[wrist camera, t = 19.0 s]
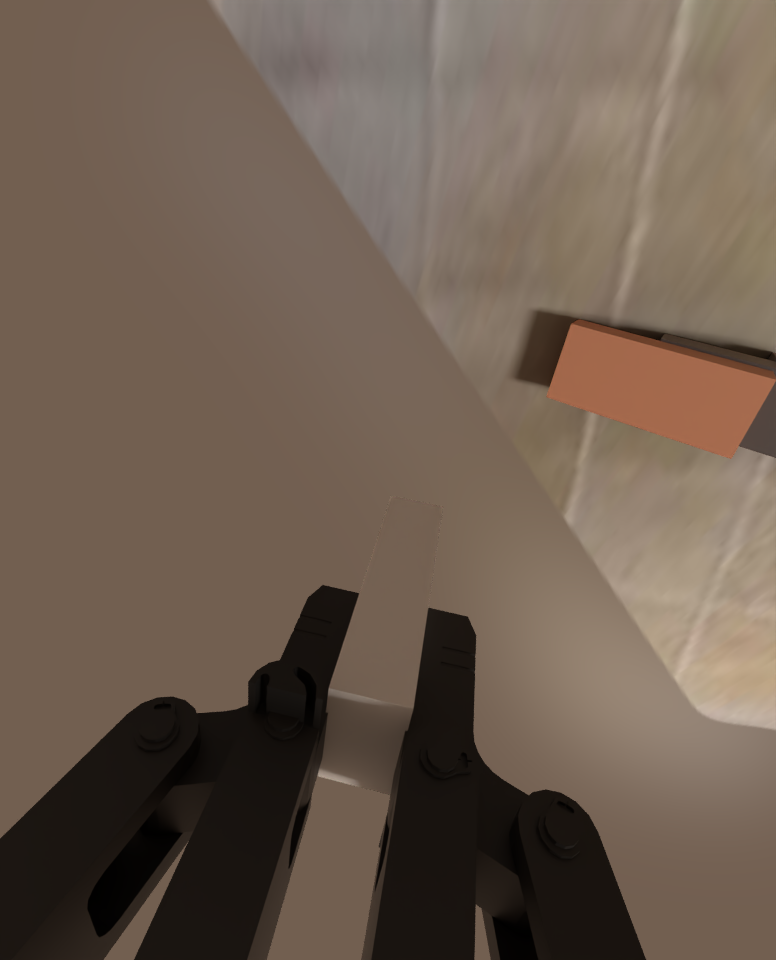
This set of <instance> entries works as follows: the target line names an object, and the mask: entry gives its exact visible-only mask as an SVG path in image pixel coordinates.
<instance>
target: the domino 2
mask: <svg viewBox="0 0 776 960" xmlns="http://www.w3.org/2000/svg"><path fill="white" fill-rule="evenodd" d="M661 341H662V342H666V343H670V344H673V345H677V346H681V347H684V348H688V349H692V350H696V351H699V352H703V353H707V354H710V355H714V356H718V357H722V358H725V359H729V360H733V361H737V362H740V363H744V364H748V365H751V366H755V367H759V368H763V369H766V370H770V371H773V372H774V374H775V377H776V362H775V361H771V360H767V359H763V358H759V357H755V356H751V355H748V354H744V353H740V352H736V351H732V350H728V349H724V348H720V347H716V346H712V345H708V344H705V343H701V342H697V341H693V340H689V339H685V338H681V337H677V336H673V335H669V334H664V335H663V337H662V338H661ZM739 446H740V447H743V448H747V449H750V450H753V451H756V452H759V453H762V454H765V455H769V456H772V457H775V458H776V382H775V383H774V385H773V387H772V389H771V390H770V392H769V394H768V396H767V397H766V399H765V401H764V403H763V404H762V406H761V408H760V410H759V411H758V413H757V415H756V417H755V418H754V420H753V422H752V424H751V425H750V427H749V429H748V431H747V432H746V434H745V436H744V437H743V439H742V441H741V443H740V444H739Z"/></svg>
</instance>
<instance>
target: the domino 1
mask: <svg viewBox="0 0 776 960" xmlns="http://www.w3.org/2000/svg"><path fill="white" fill-rule="evenodd" d="M775 382H776V377H775V374H774V372H773V371H770V370H766V369H763V368H759V367H755V366H751V365H748V364H744V363H740V362H737V361H733V360H729V359H725V358H722V357H718V356H714V355H710V354H707V353H703V352H699V351H696V350H692V349H688V348H684V347H681V346H677V345H673V344H670V343H666V342H662V341H658V340H655V339H651V338H647V337H644V336H640V335H636V334H632V333H629V332H625V331H621V330H618V329H614V328H610V327H606V326H603V325H599V324H595V323H591V322H588V321H584V320H580V319H579V320H577V321H575V322H573V323H572V324H571V326H570V329H569V332H568V335H567V337H566V340H565V343H564V346H563V349H562V352H561V355H560V358H559V361H558V364H557V367H556V370H555V373H554V376H553V379H552V382H551V385H550V388H549V390H548V393H547V396H546V397H548V398H551V399H554V400H557V401H560V402H563V403H566V404H569V405H572V406H575V407H578V408H581V409H584V410H587V411H590V412H593V413H596V414H599V415H602V416H604V417H607V418H610V419H613V420H616V421H619V422H622V423H625V424H628V425H631V426H634V427H637V428H640V429H643V430H646V431H649V432H652V433H655V434H658V435H661V436H664V437H667V438H670V439H673V440H676V441H679V442H682V443H685V444H688V445H691V446H694V447H697V448H700V449H703V450H706V451H709V452H712V453H715V454H718V455H721V456H724V457H727V458H730V459H731V458H732V457H733V455H734V453H735V451H736V450H737V448H738V446H739V444H740V443H741V441H742V439H743V437H744V436H745V434H746V432H747V431H748V429H749V427H750V425H751V424H752V422H753V420H754V418H755V417H756V415H757V413H758V411H759V410H760V408H761V406H762V404H763V403H764V401H765V399H766V397H767V396H768V394H769V392H770V390H771V389H772V387H773V385H774V383H775Z"/></svg>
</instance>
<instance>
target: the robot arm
mask: <svg viewBox="0 0 776 960" xmlns="http://www.w3.org/2000/svg"><path fill="white" fill-rule="evenodd" d="M442 510H443V506H437V505H433V504H428V503H424V502H419V501H414V500H410V499H405V498H400V497H395V496H391V497H390V501H389V504H388V507H387V510H386V513H385V516H384V519H383V522H382V525H381V528H380V531H379V534H378V538H377V541H376V544H375V547H374V550H373V553H372V556H371V559H370V562H369V565H368V568H367V571H366V575H365V578H364V581H363V584H362V587H361V590H360V593H355V592H351V591H347V590H342V589H338V588H333V587H329V586H324V585H322V586H321V587H320V588H319V589H318V590H316V591H315V592H314V593H313V594H312V595H311V596H309V597H308V599H307V601H306V603H305V605H304V608H303V610H302V612H301V614H300V618H299V619H298V621H297V623H296V626H295V628H294V631H293V633H292V635H291V637H290V639H289V641H288V644H287V646H286V648H285V650H284V653H283V655H282V657H281V659H280V660H279V661H275V662H271V663H268V664H267V665H265V666H263V667H262V668H260V669H259V670H257V671H256V672H255V674H254V675H253V676H252V678H251V679H250V680H249V682H248V686H249V687H248V697H249V698H248V699H249V700H248V705H247V706H244V707H242V708H239V709H236V710H231V711H224V712H209V713H196V710H195V708H194V707H192V706H191V705H190V704H189V703H188V702H186V701H185V700H182V699H178V698H175V697H160V698H155V699H153V700H150V701H147V702H144V703H142V704H140V705H139V706H138V707H136V708H135V709H133V710H132V711H131V712H129V713H128V714H127V715H126V716H125V717H124V718H123V719H122V720H121V721H120V722H119V723H118V724H117V725H116V726H115V727H114V728H113V729H112V730H111V731H110V732H109V733H108V734H107V735H106V736H105V737H104V738H103V739H101V740H100V741H99V742H98V743H97V744H96V745H95V747H93V748H92V749H91V750H90V752H88V753H87V754H86V755H85V756H84V757H83V758H82V759H81V760H80V761H79V762H78V763H77V764H76V765H75V766H74V767H73V768H72V769H71V770H70V771H69V772H68V773H67V774H66V775H65V776H64V777H63V778H62V779H61V780H60V781H59V782H58V783H57V784H56V785H55V786H54V787H52V788H51V790H49V792H47V793H46V795H44V796H43V797H42V798H41V799H40V800H39V801H38V802H37V803H36V804H35V805H34V806H33V807H32V808H31V809H30V810H29V811H28V812H27V813H26V814H25V815H24V816H23V817H22V818H21V819H20V820H19V821H18V822H17V823H16V824H15V825H14V826H13V827H12V828H11V829H10V830H9V831H8V832H7V833H6V834H5V835H3V836H2V837H1V838H0V960H104V958H105V957H106V955H107V954H108V952H109V951H110V950H111V948H112V947H113V945H114V944H115V943H116V941H117V940H118V939H119V937H120V936H121V934H122V933H123V932H124V930H125V929H126V927H127V926H128V925H129V923H130V922H131V920H132V919H133V918H134V916H135V915H136V913H137V912H138V911H139V909H140V908H141V906H142V905H143V904H144V902H145V901H146V899H147V898H148V897H149V895H150V894H151V892H152V891H153V890H154V888H155V887H156V885H157V884H158V883H159V881H160V880H161V879H162V877H163V876H164V874H165V873H166V872H167V870H168V869H169V867H170V866H171V865H172V863H173V862H174V860H175V859H176V857H177V856H178V854H179V853H180V852H181V851H182V849H183V848H184V846H185V845H186V844H187V842H188V841H189V842H188V844H187V846H186V848H185V851H184V853H183V855H182V857H181V859H180V861H179V863H178V866H177V868H176V870H175V872H174V874H173V877H172V879H171V881H170V883H169V885H168V887H167V890H166V892H165V894H164V896H163V898H162V900H161V903H160V905H159V907H158V909H157V911H156V913H155V916H154V918H153V920H152V922H151V924H150V926H149V929H148V931H147V933H146V935H145V937H144V939H143V942H142V944H141V946H140V948H139V950H138V952H137V955H136V957H135V959H134V960H267V956H268V953H269V949H270V946H271V942H272V939H273V935H274V932H275V928H276V925H277V921H278V918H279V914H280V911H281V908H282V904H283V900H284V897H285V893H286V890H287V887H288V883H289V880H290V876H291V873H292V869H293V866H294V863H295V859H296V856H297V852H298V849H299V845H300V842H301V838H302V835H303V831H304V827H305V824H306V821H307V817H308V814H309V810H310V806H311V796H312V792H313V788H314V785H315V781H316V778H317V775H318V776H319V777H323V778H327V779H330V780H335V781H339V782H342V783H346V784H350V785H354V786H358V787H361V788H365V789H369V790H373V791H377V792H381V793H385V794H388V795H390V801H389V807H388V813H387V817H386V821H385V825H384V828H383V833H382V836H381V840H380V843H379V847H380V853H379V859H378V864H377V870H376V876H375V882H374V888H373V894H372V900H371V906H370V912H369V919H368V924H367V930H366V936H365V941H364V948H363V953H362V959H361V960H474V952H475V951H474V950H475V905H476V904H477V905H478V906H479V907H481V908H482V912H483V918H484V924H485V929H486V935H487V940H488V946H489V952H490V957H491V960H646V959H645V956H644V953H643V950H642V948H641V945H640V942H639V940H638V937H637V934H636V932H635V929H634V926H633V924H632V921H631V918H630V916H629V913H628V911H627V908H626V905H625V903H624V900H623V897H622V894H621V892H620V889H619V886H618V884H617V881H616V879H615V876H614V873H613V871H612V868H611V865H610V863H609V860H608V858H607V855H606V852H605V850H604V847H603V844H602V841H601V839H600V836H599V834H598V831H597V829H596V827H595V826H594V824H593V822H592V820H591V819H590V816H589V815H588V814H587V813H586V812H585V811H584V810H583V809H582V808H581V807H580V806H579V804H578V803H577V802H576V801H574V800H572V799H570V798H569V797H567V796H565V795H564V794H562V793H559V792H555V791H550V790H542V791H537V792H533V793H531V794H530V795H527V794H525V793H524V792H522V791H521V790H519V789H517V788H515V787H514V786H512V785H511V784H509V783H507V782H506V781H504V780H503V779H501V778H500V777H499V776H497V775H496V774H495V773H493V772H492V771H491V770H490V768H489V767H488V766H487V765H486V764H485V763H484V761H483V760H482V758H481V757H480V755H479V753H478V751H477V748H476V745H475V743H474V734H473V721H474V719H473V718H474V688H475V687H474V686H475V653H476V634H475V632H474V630H473V627H472V625H471V623H470V621H469V619H468V617H467V616H462V615H458V614H454V613H449V612H445V611H440V610H436V609H432V608H428V605H429V599H430V592H431V585H432V578H433V572H434V565H435V558H436V551H437V544H438V538H439V531H440V524H441V517H442ZM189 839H190V840H189Z"/></svg>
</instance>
